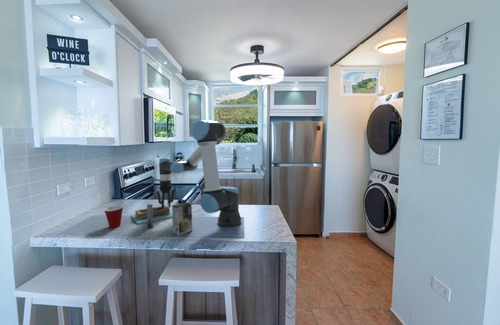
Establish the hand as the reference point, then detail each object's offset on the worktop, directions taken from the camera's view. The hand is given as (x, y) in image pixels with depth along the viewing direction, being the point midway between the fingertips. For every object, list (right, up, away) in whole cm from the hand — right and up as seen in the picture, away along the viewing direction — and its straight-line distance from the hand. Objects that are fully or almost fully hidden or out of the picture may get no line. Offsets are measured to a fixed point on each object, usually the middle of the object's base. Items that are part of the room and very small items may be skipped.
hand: (166, 212), depth 168 cm
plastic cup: (-23, -4, -24) cm, 33 cm away
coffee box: (+21, -5, -32) cm, 38 cm away
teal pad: (-7, -2, -5) cm, 9 cm away
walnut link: (-7, -1, -5) cm, 9 cm away
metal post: (0, -4, -26) cm, 26 cm away
